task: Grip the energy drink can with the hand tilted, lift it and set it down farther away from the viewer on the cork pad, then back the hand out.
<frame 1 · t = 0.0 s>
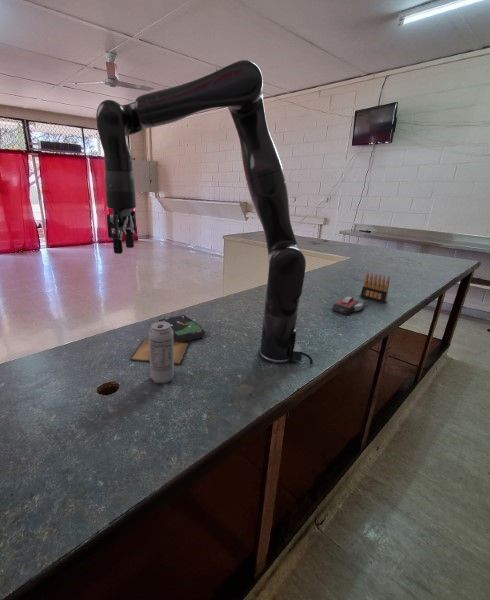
hand: (124, 250, 89), 29 cm above the counter, tool pointing down, fingers open, 8 cm apart
ammunition clip: (372, 299, 143), on the counter
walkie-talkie: (350, 307, 133), on the counter
cork pad: (161, 351, 95), on the counter
disk drive: (181, 331, 107), on the counter, touching cork pad
energy drink can: (162, 378, 82), on the counter
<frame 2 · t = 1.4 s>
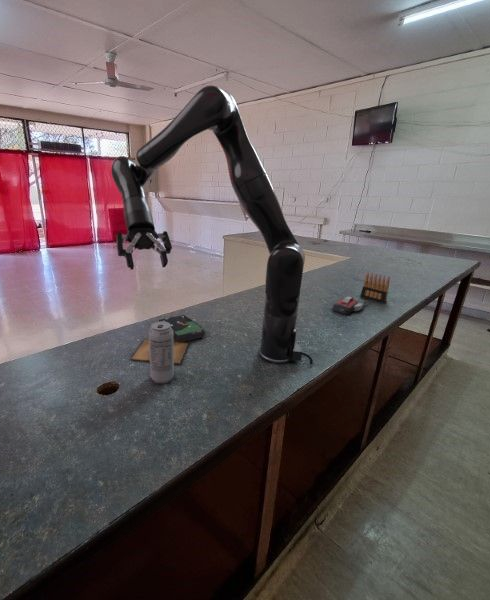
hand: (148, 267, 83), 27 cm above the counter, tool tilted 45°, fingers open, 8 cm apart
nothing on the counter moved.
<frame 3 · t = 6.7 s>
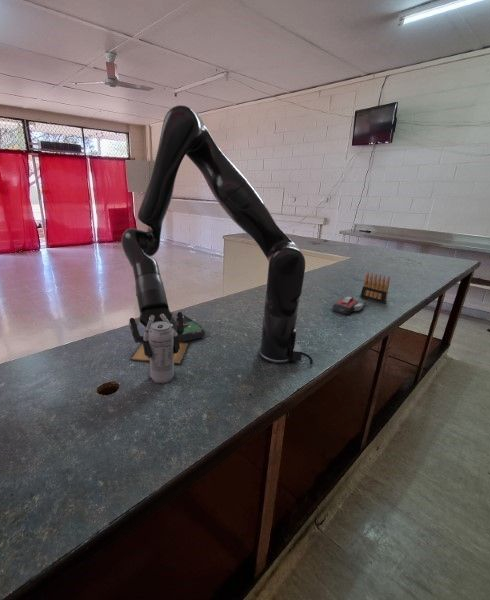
hand: (163, 354, 78), 8 cm above the counter, tool tilted 45°, fingers closed on energy drink can, 6 cm apart
energy drink can: (162, 378, 82), on the counter, touching gripper
everything else where it was.
when the fingers open (8 cm above the counter, at t = 14.7 s): energy drink can stays where it is, resting on cork pad.
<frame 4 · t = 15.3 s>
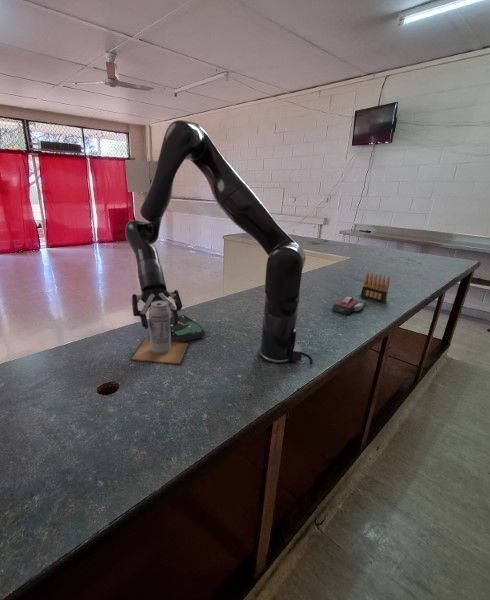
hand: (161, 326, 90), 9 cm above the counter, tool tilted 45°, fingers open, 8 cm apart
energy drink can: (160, 350, 95), resting on cork pad
everything else where it was.
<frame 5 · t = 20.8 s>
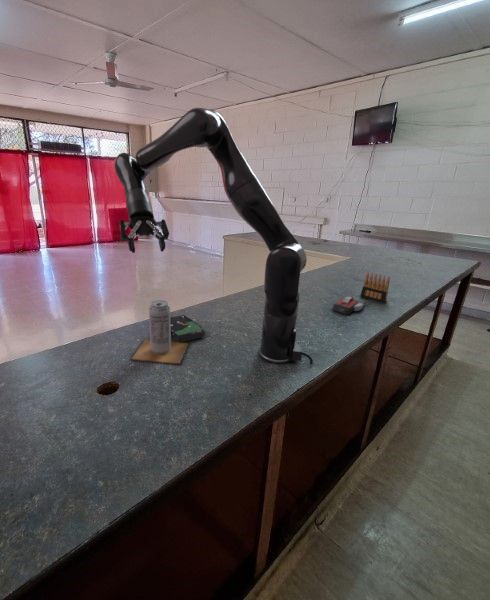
hand: (148, 250, 92), 29 cm above the counter, tool tilted 45°, fingers open, 8 cm apart
nothing on the counter moved.
at the end: energy drink can inside the target area (0.1 cm from its centre), resting on cork pad; energy drink can tilted 0°; the gripper is holding nothing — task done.
